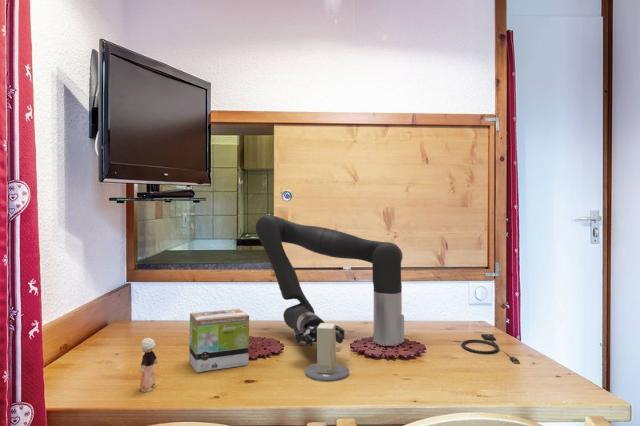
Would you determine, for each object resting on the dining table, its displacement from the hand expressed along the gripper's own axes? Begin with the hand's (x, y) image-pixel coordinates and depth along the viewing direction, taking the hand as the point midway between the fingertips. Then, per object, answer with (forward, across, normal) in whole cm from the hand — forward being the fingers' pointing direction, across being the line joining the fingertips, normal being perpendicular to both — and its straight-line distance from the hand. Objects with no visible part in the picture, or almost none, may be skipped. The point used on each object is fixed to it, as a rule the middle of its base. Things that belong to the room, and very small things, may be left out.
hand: (325, 341), depth 127 cm
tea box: (-14, -28, +8) cm, 32 cm away
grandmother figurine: (0, -46, +8) cm, 47 cm away
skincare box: (+2, 0, +8) cm, 8 cm away
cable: (-6, +54, +9) cm, 55 cm away
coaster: (+2, 0, +8) cm, 8 cm away
